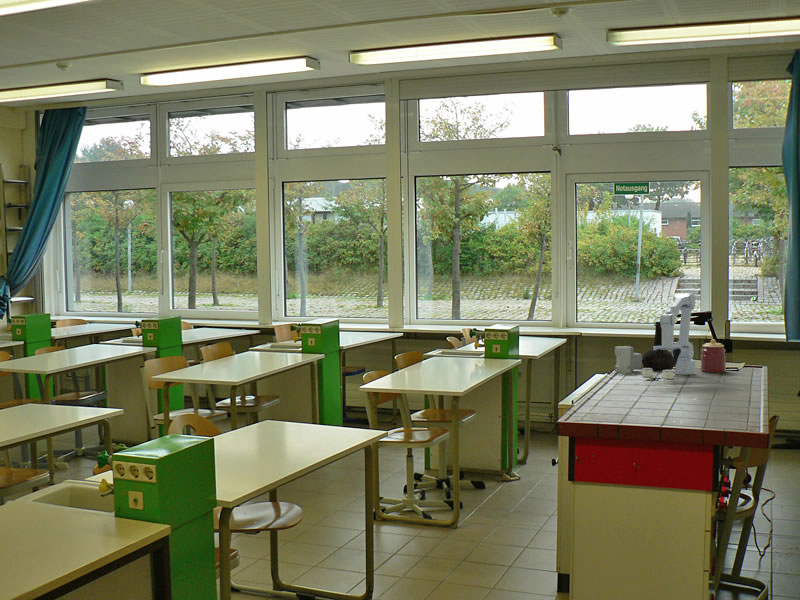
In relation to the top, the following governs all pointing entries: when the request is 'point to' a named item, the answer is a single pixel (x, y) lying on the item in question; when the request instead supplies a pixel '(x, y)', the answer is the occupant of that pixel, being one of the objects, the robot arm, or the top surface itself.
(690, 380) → the top surface
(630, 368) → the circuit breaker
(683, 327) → the robot arm
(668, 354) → the glass bottle
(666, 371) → the slider
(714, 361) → the canister
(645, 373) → the slider
